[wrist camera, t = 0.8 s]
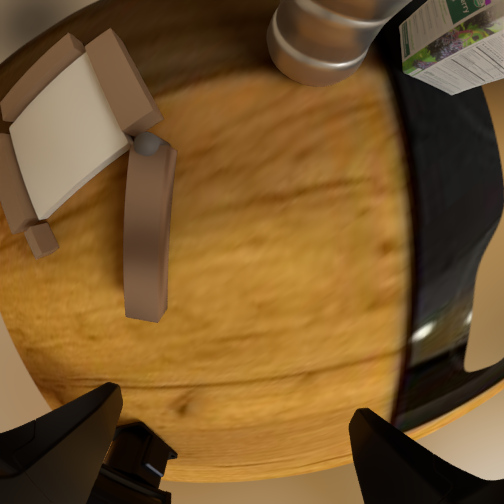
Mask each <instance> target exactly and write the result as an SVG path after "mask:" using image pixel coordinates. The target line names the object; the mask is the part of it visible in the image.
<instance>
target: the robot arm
mask: <svg viewBox="0 0 504 504" xmlns="http://www.w3.org/2000/svg"><path fill="white" fill-rule="evenodd" d="M122 406H123V399H122V394H121V388H120V386H119V385H118V384H115V383H112V382H107V383H105V384H103V385H101V386H99V387H98V388H96V389H94V390H92V391H90V392H88V393H86V394H84V395H82V396H81V397H79V398H77V399H75V400H73V401H71V402H69V403H67V404H65V405H63V406H61V407H59V408H57V409H55V410H53V411H51V412H49V413H47V414H45V415H43V416H41V417H39V418H37V419H36V421H35V420H33V421H31V422H28V423H26V424H24V425H22V426H19V427H17V428H14V429H12V430H9V431H6V432H3V433H0V504H171V493H170V492H167V491H166V492H165V491H162V490H160V489H158V488H159V484H160V480H161V477H163V476H164V472H165V468H166V464H167V460H170V459H176V458H177V456H178V454H177V453H176V452H175V451H174V450H172V449H171V448H170V447H169V446H168V445H167V444H165V443H164V442H163V441H162V440H161V439H160V438H159V437H158V436H156V435H155V434H154V433H153V432H152V431H151V430H150V429H149V428H148V427H147V426H146V425H145V424H143V423H141V422H137V423H133V424H128V425H123V426H119V427H116V426H117V423H118V419H119V416H120V413H121V410H122ZM349 435H350V441H351V448H352V455H353V461H354V466H355V469H356V473H357V476H358V481H359V484H360V488H361V492H362V496H363V500H364V504H504V479H500V480H484V479H481V478H479V477H476V476H474V475H472V474H470V473H468V472H466V471H463V470H461V469H459V468H457V467H455V466H453V465H452V464H450V463H448V462H446V461H445V460H443V459H441V458H440V457H438V456H437V455H435V454H433V453H432V452H430V451H429V450H427V449H426V448H424V447H423V446H421V445H420V444H418V443H417V442H416V441H414V440H413V439H411V438H410V437H408V436H407V435H405V434H404V433H402V432H401V431H400V430H398V429H397V428H395V427H394V426H392V425H391V424H390V423H388V422H387V421H385V420H384V419H383V418H381V417H380V416H379V415H377V414H376V413H374V412H373V411H372V410H370V409H369V408H359V409H357V410H356V411H355V413H354V415H353V417H352V419H351V421H350V423H349ZM112 441H113V442H112ZM111 442H112V444H111ZM110 444H111V446H110ZM109 447H110V448H109ZM108 449H109V451H108ZM107 451H108V453H107ZM106 454H107V455H106ZM105 456H106V457H105ZM104 458H105V459H104ZM103 461H104V462H103Z"/></svg>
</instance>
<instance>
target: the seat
mask: <svg viewBox="0 0 504 504" xmlns="http://www.w3.org/2000/svg"><path fill="white" fill-rule="evenodd" d="M85 50H86V51H85ZM0 105H1V111H2V117H3V121H8V122H13V124H12V125H11V126H10V128H9V130H10V134H11V135H10V134H3V133H0V201H1V204H2V207H3V210H4V213H5V216H6V219H7V221H8V224H9V227H10V229H11V232H12V234H16V233H20V232H23V231H26V232H25V233H24V234H25V237H26V239H27V241H28V244H29V246H30V248H31V250H32V252H33V254H34V257H35V259H36V260H37V259H39V258H41V257H44V256H46V255H49V254H51V253H53V252H54V251H56V250H57V249H58V248H59V246H58V244H57V242H56V239H55V237H54V235H53V233H52V231H51V229H50V227H49V224H48V223H44V224H40V225H35V224H36V223H37V222H38V220H42V219H47V218H48V217H49V216H50V215H52V214H53V213H54V212H55V211H56V210H57V209H58V208H59V207H60V206H61V205H62V204H63V203H64V202H65V201H66V200H67V199H69V198H70V197H71V196H72V195H73V194H74V193H75V192H76V191H78V190H79V189H80V188H81V187H82V186H83V185H84V184H86V183H87V182H88V181H89V180H90V179H92V178H93V177H94V176H95V175H97V174H98V173H99V172H100V171H102V170H103V169H104V168H105V167H107V166H108V165H109V164H110V163H112V162H113V161H114V160H116V159H117V158H118V157H120V156H121V155H122V154H124V153H125V152H127V151H128V150H129V149H130V146H131V145H133V143H134V142H133V140H132V138H131V136H134V137H136V136H137V135H138V134H140V133H142V132H145V131H146V130H148V129H149V128H151V127H152V126H154V125H155V124H157V123H158V122H160V121H161V120H163V119H164V118H163V116H162V114H161V112H160V111H159V109H158V107H157V105H156V103H155V101H154V99H153V98H152V96H151V94H150V92H149V90H148V88H147V86H146V85H145V83H144V81H143V79H142V77H141V75H140V73H139V72H138V70H137V68H136V66H135V64H134V62H133V60H132V58H131V56H130V55H129V53H128V51H127V49H126V47H125V45H124V43H123V41H122V40H121V39H120V38H119V37H118V36H117V34H116V33H115V32H114V31H113V30H112V29H111V28H110V29H108V30H107V31H105V32H104V33H102V34H101V35H99V36H98V37H97V38H95V39H94V40H93V41H91V42H90V43H89V44H87V45H86V46H85V49H84V46H83V44H82V42H80V41H79V40H78V39H77V38H75V37H74V36H73V35H72V34H70V33H68V34H66V35H65V36H64V37H63V38H62V39H60V40H59V41H58V42H57V43H56V44H55V45H54V46H53V47H51V48H50V49H49V50H48V51H47V52H46V53H45V54H44V55H43V56H42V57H41V58H40V59H39V60H38V61H37V62H36V63H35V64H34V65H33V66H32V67H31V68H30V69H29V70H28V71H27V72H26V73H25V74H24V75H23V76H22V77H21V78H20V80H19V81H18V82H17V83H16V84H15V85H14V86H13V88H12V89H11V90H10V91H9V92H8V94H7V95H6V96H5V97H4V99H3V100H2V101H1V102H0ZM130 135H131V136H130ZM34 225H35V226H34Z"/></svg>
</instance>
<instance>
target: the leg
mask: <svg viewBox="0 0 504 504" xmlns="http://www.w3.org/2000/svg"><path fill="white" fill-rule="evenodd" d="M176 155H177V150H175V149H173V148H171V146H170V144H169V143H168V142H166V141H164V140H163V139H161V138H159V137H157V136H155V135H154V134H152V133H150V132H142V133H140V134H138V135H137V136H136V138H135V140H134V143H133V145H131V146H130V154H129V162H128V172H127V182H126V194H125V210H124V237H123V273H124V299H125V315H126V317H128V318H134V319H139V320H145V321H150V322H156V323H158V322H159V320H160V319H161V317H162V316H163V314H164V313H165V311H166V310H167V285H168V252H169V233H170V217H171V204H172V193H173V182H174V173H175V164H176Z"/></svg>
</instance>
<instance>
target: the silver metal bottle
mask: <svg viewBox="0 0 504 504" xmlns="http://www.w3.org/2000/svg"><path fill="white" fill-rule="evenodd" d="M410 1H412V0H281V1H280V4H279V7H278V8H277V9H276V11H275V13H274V14H273V17H272V19H271V21H270V24H269V27H268V29H267V35H266V40H267V46H268V50H269V54H270V57H271V59H272V61H273V63H274V64H275V66H276V67H277V68H278V69H279V70H280V71H281V72H282V73H283V74H284V75H286V76H287V77H289V78H290V79H292V80H294V81H296V82H298V83H301V84H304V85H308V86H315V87H324V86H329V85H333V84H336V83H338V82H340V81H342V80H344V79H346V78H348V77H349V76H351V75H352V74H354V73H355V71H356V70H357V69H358V68H359V66H360V65H361V63H362V61H363V59H364V57H365V55H366V53H367V51H368V48H369V46H370V44H371V43H372V41H373V40H374V38H375V37H376V36H377V34H378V33H379V31H380V30H381V28H382V27H383V26H384V24H385V23H386V22H388V21H389V20H390V19H391V18H392V17H393V16H394V15H395V14H397V13H398V12H399V11H400V10H401V9H402V8H403V7H404V6H406V5H407V4H408V3H409V2H410Z"/></svg>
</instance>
